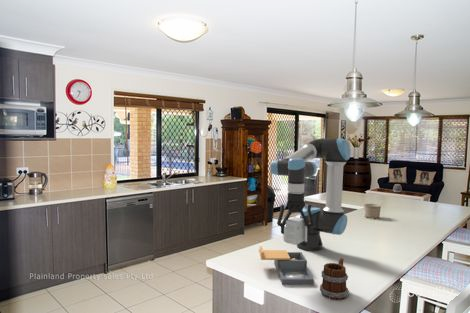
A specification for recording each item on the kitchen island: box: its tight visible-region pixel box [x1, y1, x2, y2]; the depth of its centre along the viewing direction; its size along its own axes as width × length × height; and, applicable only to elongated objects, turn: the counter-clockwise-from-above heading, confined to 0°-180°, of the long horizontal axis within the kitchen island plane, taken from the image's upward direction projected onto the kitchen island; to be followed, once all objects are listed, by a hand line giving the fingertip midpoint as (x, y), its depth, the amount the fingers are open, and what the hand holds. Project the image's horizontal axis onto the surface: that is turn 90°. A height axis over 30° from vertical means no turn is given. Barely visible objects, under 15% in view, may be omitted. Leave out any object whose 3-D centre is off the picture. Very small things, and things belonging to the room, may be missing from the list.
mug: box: [319, 257, 350, 301], centre depth 140 cm, size 12×14×15 cm
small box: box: [285, 216, 305, 246], centre depth 154 cm, size 8×6×10 cm
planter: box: [363, 203, 382, 219], centre depth 274 cm, size 13×13×10 cm
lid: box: [258, 245, 290, 261], centre depth 166 cm, size 14×12×3 cm
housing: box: [273, 251, 315, 286], centre depth 160 cm, size 14×25×6 cm, turn 1°
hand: (294, 240), depth 154 cm, fingers closed on small box, 9 cm apart
